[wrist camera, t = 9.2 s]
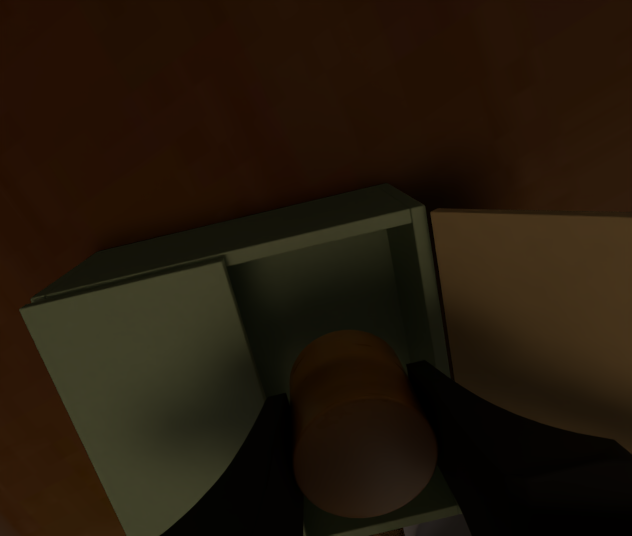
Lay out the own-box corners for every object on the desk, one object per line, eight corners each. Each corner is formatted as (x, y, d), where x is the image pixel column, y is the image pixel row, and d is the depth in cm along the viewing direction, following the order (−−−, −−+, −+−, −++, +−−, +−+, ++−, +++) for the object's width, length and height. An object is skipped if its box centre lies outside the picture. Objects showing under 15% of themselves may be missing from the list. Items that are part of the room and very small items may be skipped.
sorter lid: (695, 218, 9) (702, 212, 9) (429, 211, 14) (437, 207, 14) (675, 655, 13) (680, 644, 13) (475, 528, 18) (481, 521, 18)
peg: (410, 413, 17) (448, 501, 13) (303, 439, 17) (310, 533, 13) (391, 316, 15) (428, 381, 12) (277, 343, 15) (275, 417, 12)
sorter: (96, 251, 20) (14, 308, 14) (387, 182, 20) (433, 209, 14) (188, 482, 24) (156, 604, 18) (429, 426, 24) (479, 528, 18)
